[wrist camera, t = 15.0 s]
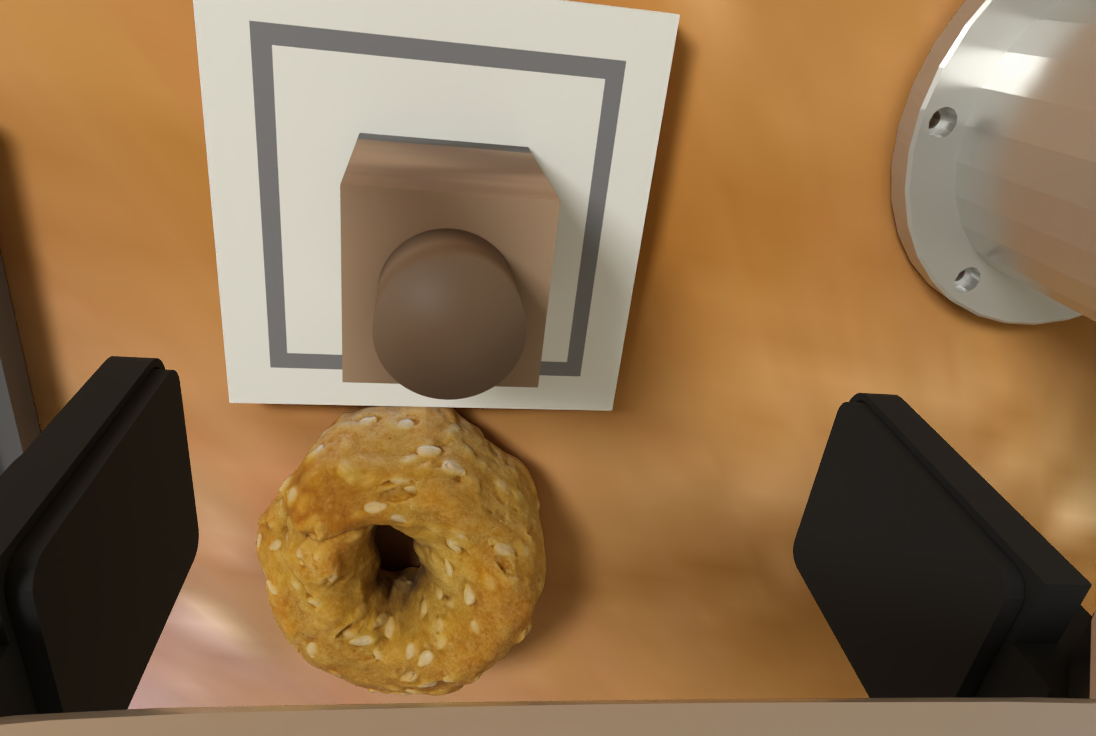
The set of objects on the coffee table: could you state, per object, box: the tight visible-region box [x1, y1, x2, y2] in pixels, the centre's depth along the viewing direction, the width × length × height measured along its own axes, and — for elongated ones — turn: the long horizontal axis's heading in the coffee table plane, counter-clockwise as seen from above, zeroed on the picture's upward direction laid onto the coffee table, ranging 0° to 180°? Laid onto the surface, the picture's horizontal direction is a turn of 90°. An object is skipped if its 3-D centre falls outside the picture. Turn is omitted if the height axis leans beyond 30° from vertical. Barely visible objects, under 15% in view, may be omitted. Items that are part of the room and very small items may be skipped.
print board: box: [193, 0, 680, 411], centre depth 22 cm, size 12×12×1 cm
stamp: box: [340, 133, 560, 400], centre depth 18 cm, size 4×4×8 cm
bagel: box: [256, 406, 546, 695], centre depth 26 cm, size 10×11×5 cm
